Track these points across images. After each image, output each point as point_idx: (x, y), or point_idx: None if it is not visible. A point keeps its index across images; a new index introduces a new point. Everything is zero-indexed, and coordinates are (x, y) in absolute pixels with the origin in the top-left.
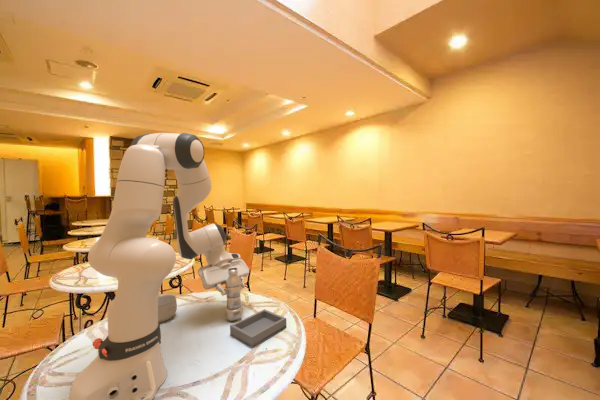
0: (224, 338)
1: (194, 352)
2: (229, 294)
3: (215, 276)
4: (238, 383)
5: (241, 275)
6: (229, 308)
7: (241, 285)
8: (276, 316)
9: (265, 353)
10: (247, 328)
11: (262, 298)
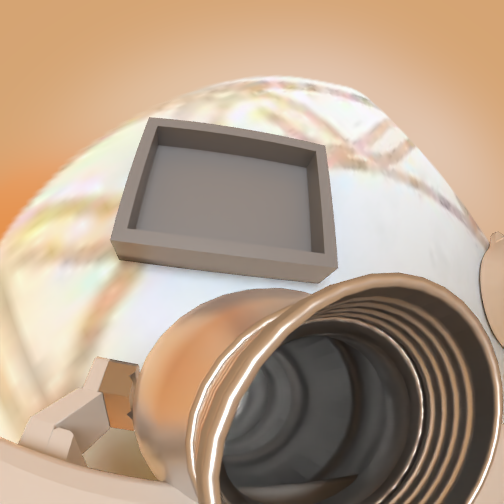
0: None
1: None
2: (307, 375)
3: (499, 501)
4: (389, 136)
5: (36, 452)
6: (271, 381)
7: (131, 383)
8: (148, 153)
9: (300, 131)
10: (256, 241)
11: None
